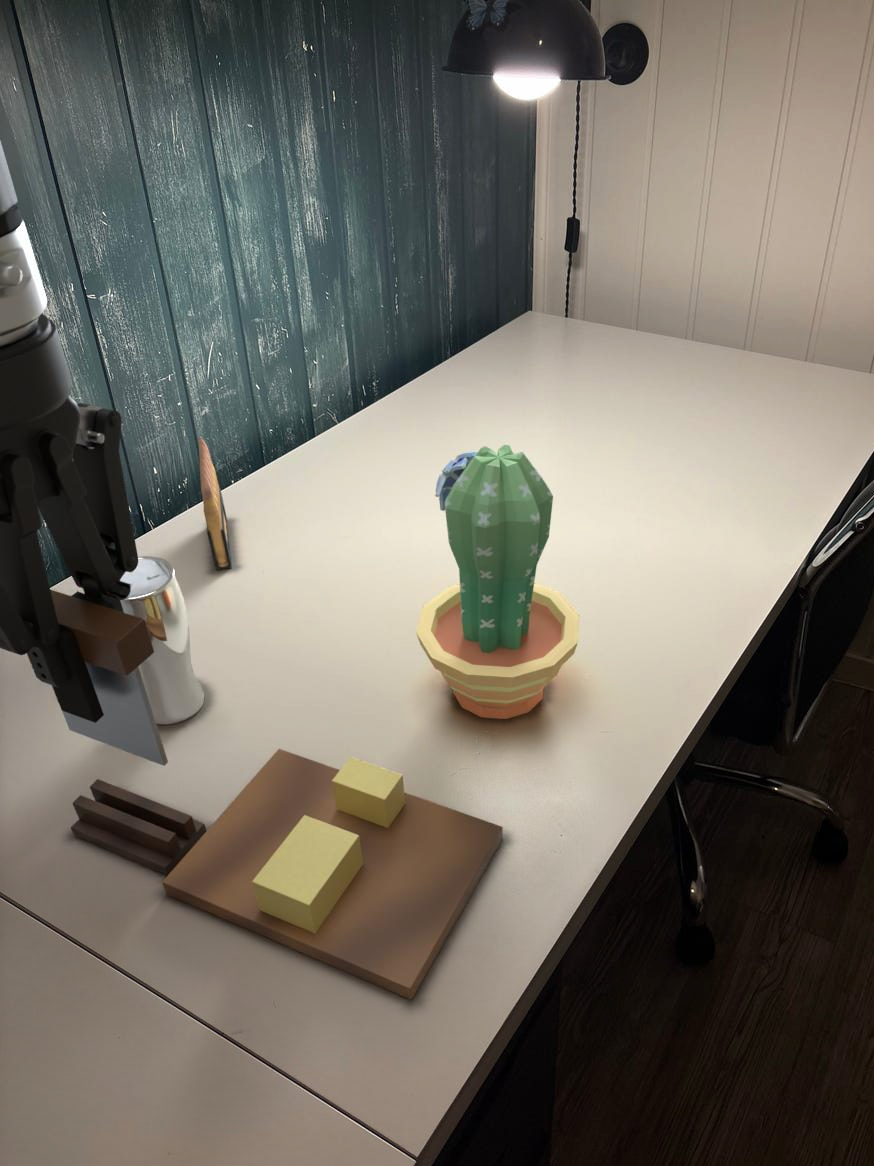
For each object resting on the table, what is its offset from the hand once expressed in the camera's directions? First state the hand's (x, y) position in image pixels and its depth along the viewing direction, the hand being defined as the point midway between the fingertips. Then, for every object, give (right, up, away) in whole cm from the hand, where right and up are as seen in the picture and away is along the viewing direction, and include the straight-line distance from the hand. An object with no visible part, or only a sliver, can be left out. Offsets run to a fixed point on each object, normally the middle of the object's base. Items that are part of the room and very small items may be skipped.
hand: (100, 696), depth 59 cm
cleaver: (0, -3, +3) cm, 4 cm away
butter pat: (+15, -10, +20) cm, 27 cm away
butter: (+11, -16, +14) cm, 24 cm away
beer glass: (-6, -3, +33) cm, 34 cm away
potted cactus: (+26, -1, +34) cm, 43 cm away
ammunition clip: (-7, +15, +55) cm, 57 cm away
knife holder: (-5, -13, +20) cm, 24 cm away
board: (+12, -15, +17) cm, 26 cm away
